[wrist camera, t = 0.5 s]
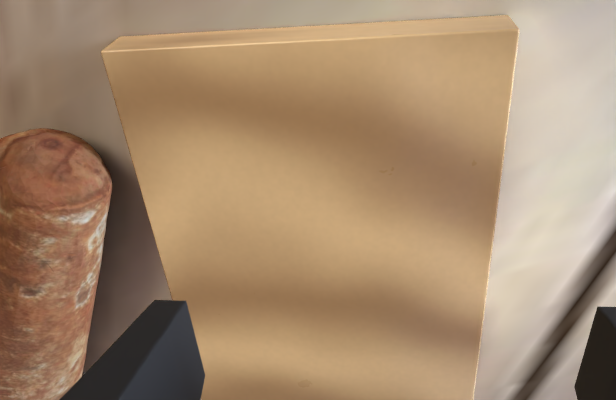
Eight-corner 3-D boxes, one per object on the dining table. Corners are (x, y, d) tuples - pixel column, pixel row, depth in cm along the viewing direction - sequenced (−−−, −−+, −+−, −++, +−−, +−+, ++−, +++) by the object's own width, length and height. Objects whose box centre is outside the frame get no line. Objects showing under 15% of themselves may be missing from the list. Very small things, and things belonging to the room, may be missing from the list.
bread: (-37, 392, 29) (-115, 498, 24) (14, 88, 19) (-103, 168, 14) (78, 433, 30) (24, 542, 25) (185, 164, 20) (128, 262, 15)
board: (458, 456, 28) (462, 485, 27) (228, 447, 29) (222, 473, 28) (509, 14, 16) (520, 28, 15) (118, 36, 18) (99, 51, 16)
